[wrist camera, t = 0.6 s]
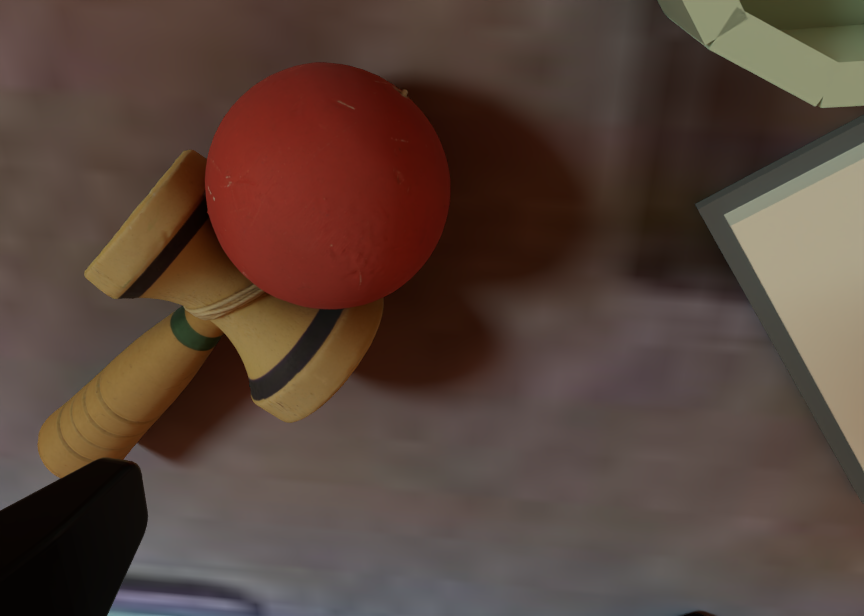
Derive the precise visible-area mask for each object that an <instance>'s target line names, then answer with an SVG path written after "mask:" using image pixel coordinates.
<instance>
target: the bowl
mask: <svg viewBox="0 0 864 616" xmlns="http://www.w3.org/2000/svg"><path fill="white" fill-rule="evenodd" d="M658 2H659V4H660V6H661V8H662V10H663V12H664V14H665V15H666V16H668V18H669V19H671V20H672V21H673V22H675V23H676V24H677V25H678V26H680V27H681V28H682V29H683V30H685V31H686V32H687V33H689V34H690V35H691V36H692V37H694V38H695V39H696V40H698V41H699V42H700V43H701V44H703V45H704V46H705V47H707V48H708V49H709V50H711V51H713V52H715V53H717V54H718V55H720V56H722V57H724V58H726V59H728V60H730V61H732V62H733V63H735V64H737V65H739V66H741V67H743V68H745V69H746V70H748V71H750V72H752V73H754V74H756V75H758V76H759V77H761V78H763V79H765V80H767V81H769V82H771V83H772V84H774V85H776V86H778V87H780V88H782V89H784V90H786V91H787V92H789V93H791V94H793V95H795V96H797V97H799V98H800V99H802V100H804V101H806V102H808V103H810V104H812V105H813V106H815V107H816V105H818V106H819V107H821V108H827V107H846V106H864V0H658Z"/></svg>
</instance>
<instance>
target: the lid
mask: <svg viewBox="0 0 864 616" xmlns="http://www.w3.org/2000/svg"><path fill="white" fill-rule="evenodd" d="M724 216H725V218H726V220H727V222H728V223H729V225H730V227H731V229H732V231H733V233H734V234H735V236H736V238H737V240H738V242H739V244H740V245H741V247H742V249H743V251H744V253H745V255H746V256H747V258H748V260H749V262H750V264H751V266H752V267H753V269H754V271H755V273H756V275H757V277H758V278H759V280H760V282H761V284H762V286H763V288H764V289H765V291H766V293H767V295H768V297H769V299H770V300H771V302H772V304H773V306H774V308H775V310H776V311H777V313H778V315H779V317H780V319H781V321H782V322H783V324H784V326H785V328H786V330H787V332H788V333H789V335H790V337H791V339H792V341H793V343H794V344H795V346H796V348H797V350H798V352H799V354H800V355H801V357H802V359H803V361H804V363H805V365H806V366H807V368H808V370H809V372H810V374H811V376H812V377H813V379H814V381H815V383H816V385H817V387H818V389H819V390H820V392H821V394H822V396H823V398H824V400H825V401H826V403H827V405H828V407H829V409H830V411H831V412H832V414H833V416H834V418H835V420H836V422H837V423H838V425H839V427H840V429H841V431H842V433H843V434H844V436H845V438H846V440H847V442H848V444H849V445H850V447H851V449H852V451H853V453H854V455H855V456H856V458H857V460H858V462H859V464H860V466H861V467H862V469H863V471H864V143H862V144H860V145H858V146H856V147H854V148H852V149H850V150H848V151H846V152H845V153H843V154H841V155H839V156H837V157H835V158H833V159H831V160H829V161H827V162H825V163H823V164H821V165H819V166H817V167H815V168H814V169H812V170H810V171H808V172H806V173H804V174H802V175H800V176H798V177H796V178H794V179H792V180H790V181H788V182H786V183H784V184H783V185H781V186H779V187H777V188H775V189H773V190H771V191H769V192H767V193H765V194H763V195H761V196H759V197H757V198H755V199H754V200H752V201H750V202H748V203H746V204H744V205H742V206H740V207H738V208H736V209H734V210H732V211H730V212H728V213H726V214H724Z"/></svg>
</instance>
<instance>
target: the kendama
mask: <svg viewBox="0 0 864 616" xmlns="http://www.w3.org/2000/svg"><path fill="white" fill-rule="evenodd" d="M407 94H408V91H407V90H405V89H403V90H401V89H398V88H397V87H396V86H394V85H393V84H391V83H390V82H388V81H386V80H385V79H383V78H381V77H380V76H378V75H375V74H373V73H370V72H368V71H365V70H363V69H359V68H356V67H352V66H348V65H343V64H335V63H325V62H315V63H308V64H302V65H298V66H294V67H291V68H288V69H285V70H282V71H280V72H278V73H275V74H273V75H271V76H269V77H267V78H266V79H264V80H262V81H261V82H259V83H257V84H256V85H255V86H253V87H252V88H251V89H249V90H248V91H247V92H246V93H245V94H244V95H242V96H241V97H240V98H239V99H238V101H237V102H236V103H235V104H234V105H233V106H232V107H231V108H230V110H229V111H228V113H227V114H226V115H225V117H224V118H223V120H222V122H221V123H220V125H219V127H218V129H217V131H216V133H215V135H214V138H213V141H212V144H211V147H210V149H209V153H208V158H207V159H206V158H204V157H203V156H202V155H200V154H199V153H197V152H196V151H194V150H186V151H183V152H182V154H181V155H180V156H179V157H178V158H177V159H176V160H175V162H174V164H173V165H172V166H171V167H170V168H169V170H168V171H167V172H166V173H165V174H164V175H163V177H162V178H161V179H160V180H159V181H158V182H157V184H156V185H155V187H154V188H152V190H151V191H150V193H149V194H148V196H147V197H146V198H145V199H144V200H143V201H142V202H141V203H140V204H139V205H138V207H137V208H136V209H135V210H134V211H133V213H132V214H131V216H130V217H129V218H128V219H127V220H126V222H125V223H124V224H123V226H122V227H121V229H120V230H119V231H118V232H117V233H116V235H115V236H114V237H113V239H112V240H111V241H110V242H109V243H108V244H107V245H106V246H105V247H104V249H103V250H102V251H101V253H100V254H99V255H98V256H97V258H95V260H94V261H93V262H92V263H91V264H90V265H89V267H88V268H87V270H85V277H86V278H87V279H88V280H89V281H90V282H91V283H93V284H94V285H95V286H96V287H97V288H99V289H100V290H101V291H102V292H104V293H105V294H106V295H108V296H111V298H113V299H121V298H132V299H133V298H154V299H161V300H167V301H171V302H174V303H177V304H180V305H183V306H182V307H180V308H179V309H177V310H176V311H175V312H173V313H172V314H170V315H169V316H168V317H166V318H165V319H163V320H162V321H161V322H159V323H157V324H156V325H155V326H154V327H152V328H151V329H150V330H148V331H147V332H145V333H144V334H143V335H142V336H140V337H139V338H138V339H137V340H135V341H134V342H133V343H132V344H131V345H129V346H128V347H127V348H126V349H125V350H124V351H123V352H121V353H120V354H119V355H118V356H117V357H116V358H115V359H114V360H113V361H111V362H110V363H109V364H108V365H107V366H106V367H105V368H104V369H103V370H102V371H101V372H100V373H99V374H98V375H96V376H95V378H93V379H92V380H91V381H90V382H89V383H88V384H87V385H85V386H84V387H83V388H82V389H81V390H80V391H79V392H78V393H77V394H76V395H74V396H73V397H72V398H71V399H70V400H69V401H68V402H66V403H65V404H64V405H63V406H61V407H60V408H59V409H58V410H56V411H55V412H54V413H53V414H52V415H50V416H49V417H48V419H47V420H46V421H45V423H44V424H43V425H42V427H41V429H40V432H39V435H38V436H39V438H38V451H39V455H40V457H41V459H42V461H43V463H44V465H45V466H46V467H47V469H48V470H49V471H50V472H52V473H53V474H54V475H56V476H57V477H59V478H63V477H64V476H66V475H68V474H70V473H72V472H74V471H76V470H78V469H80V468H81V467H83V466H85V465H87V464H89V463H91V462H93V461H95V460H97V459H99V458H104V457H109V458H115V459H121V460H123V459H124V458H125V457H126V455H127V454H128V453H129V452H130V451H131V449H132V448H133V447H134V446H135V444H136V443H137V442H138V441H139V440H140V438H141V437H142V436H143V435H144V434H145V433H146V432H147V431H148V429H149V428H150V427H151V426H152V425H153V424H154V423H155V422H156V421H157V420H158V419H159V418H160V416H161V415H162V414H163V413H164V412H165V411H166V410H167V408H168V407H169V406H170V405H171V404H172V403H173V402H174V401H175V400H176V398H177V397H178V396H179V395H180V394H181V392H182V391H183V390H184V389H185V388H186V386H187V385H188V384H189V383H190V382H191V380H192V379H193V377H194V376H195V375H196V373H197V372H198V370H199V369H200V368H201V366H202V365H203V363H204V362H205V361H206V359H207V357H208V356H209V355H210V353H211V352H212V350H213V349H214V347H215V346H216V344H217V343H218V341H219V340H220V338H221V336H222V335H223V334H224V333H225V334H226V335H227V337H228V338H229V339H230V341H231V342H232V343H233V345H234V346H235V348H236V349H237V351H238V353H239V355H240V357H241V359H242V361H243V363H244V365H245V368H246V371H247V374H248V377H249V383H250V384H249V387H250V388H251V398H252V400H253V402H254V403H255V404H256V405H258V406H259V407H261V408H262V409H264V410H266V411H267V412H269V413H271V414H272V415H274V416H275V417H277V418H279V419H280V420H282V421H284V422H288V423H292V422H295V421H298V420H301V419H303V418H305V417H307V416H308V415H310V414H312V413H313V412H315V411H316V410H317V409H319V408H320V407H321V406H322V405H324V404H325V403H326V402H327V401H328V400H329V399H330V398H331V397H332V396H333V395H334V394H335V393H336V392H337V391H338V390H339V389H340V388H341V386H342V385H343V384H344V383H345V382H346V381H347V379H348V378H349V376H350V375H351V374H352V373H353V371H354V370H355V369H356V368H357V366H358V365H359V363H360V362H361V360H362V358H363V357H364V355H365V354H366V352H367V350H368V349H369V347H370V345H371V343H372V341H373V339H374V337H375V335H376V332H377V330H378V327H379V325H380V321H381V317H382V314H383V309H384V299H383V297H385V296H387V295H389V294H391V293H392V292H394V291H396V290H397V289H399V288H400V287H401V286H403V285H404V284H405V283H406V282H407V281H409V280H410V279H411V278H412V277H413V276H414V275H415V274H416V273H417V272H418V271H419V270H420V269H421V268H422V266H423V265H424V264H425V263H426V261H427V260H428V259H429V257H430V255H431V254H432V252H433V251H434V249H435V247H436V245H437V243H438V241H439V239H440V237H441V235H442V232H443V229H444V226H445V223H446V220H447V215H448V211H449V206H450V193H451V187H450V173H449V167H448V163H447V159H446V156H445V152H444V150H443V147H442V144H441V142H440V140H439V137H438V136H437V134H436V132H435V130H434V128H433V126H432V125H431V123H430V122H429V120H428V119H427V117H426V116H425V115H424V113H423V112H422V111H421V110H420V109H419V108H418V107H417V105H416V104H415V103H414V102H413V101H412V100H411V99H410V98H409V97H408V96H407Z"/></svg>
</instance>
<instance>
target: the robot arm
mask: <svg viewBox="0 0 864 616" xmlns="http://www.w3.org/2000/svg"><path fill="white" fill-rule="evenodd" d="M147 521H148V511H147V505H146V498H145V492H144V486H143V480H142V473H141V470H140V467H139V466H138V465H137V464H136V463H134V462H133V461H127V460H121V459H115V458H109V457H104V458H99V459H97V460H95V461H93V462H91V463H89V464H87V465H85V466H83V467H81V468H80V469H78V470H76V471H74V472H72V473H70V474H68V475H66V476H64V477H63V478H61V479H59V480H57V481H55V482H53V483H51V484H49V485H48V486H46V487H44V488H42V489H40V490H38V491H36V492H34V493H32V494H31V495H29V496H27V497H25V498H23V499H21V500H19V501H17V502H16V503H14V504H12V505H10V506H8V507H6V508H4V509H2V510H0V616H107V615H108V613H109V611H110V608H111V606H112V604H113V602H114V600H115V597H116V595H117V593H118V591H119V589H120V586H121V584H122V582H123V580H124V578H125V575H126V573H127V571H128V569H129V567H130V565H131V562H132V560H133V558H134V556H135V554H136V551H137V549H138V547H139V545H140V543H141V540H142V538H143V536H144V533H145V530H146V527H147ZM684 616H703V615H701V614H695V613H693V614H688V615H684Z"/></svg>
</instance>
